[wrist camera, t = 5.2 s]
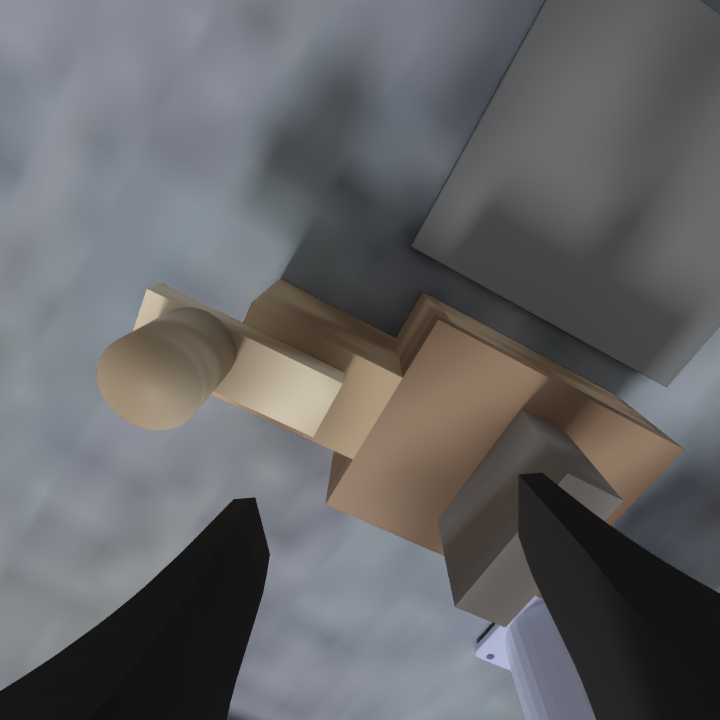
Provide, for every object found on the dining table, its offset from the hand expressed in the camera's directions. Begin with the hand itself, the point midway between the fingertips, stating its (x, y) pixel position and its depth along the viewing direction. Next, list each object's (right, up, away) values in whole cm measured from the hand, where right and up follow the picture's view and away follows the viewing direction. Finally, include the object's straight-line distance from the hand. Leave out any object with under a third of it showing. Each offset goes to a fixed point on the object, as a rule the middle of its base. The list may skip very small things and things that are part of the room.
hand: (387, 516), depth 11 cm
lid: (+5, 0, +6) cm, 8 cm away
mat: (+10, +11, +6) cm, 16 cm away
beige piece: (-5, +4, +4) cm, 8 cm away
